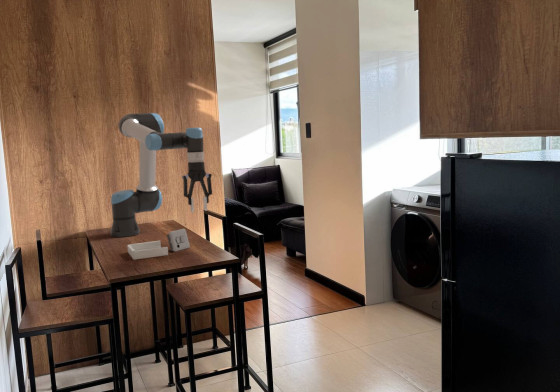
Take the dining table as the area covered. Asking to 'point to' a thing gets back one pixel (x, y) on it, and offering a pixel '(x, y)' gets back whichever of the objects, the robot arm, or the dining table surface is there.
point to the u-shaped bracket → (147, 250)
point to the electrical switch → (178, 240)
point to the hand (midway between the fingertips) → (199, 210)
